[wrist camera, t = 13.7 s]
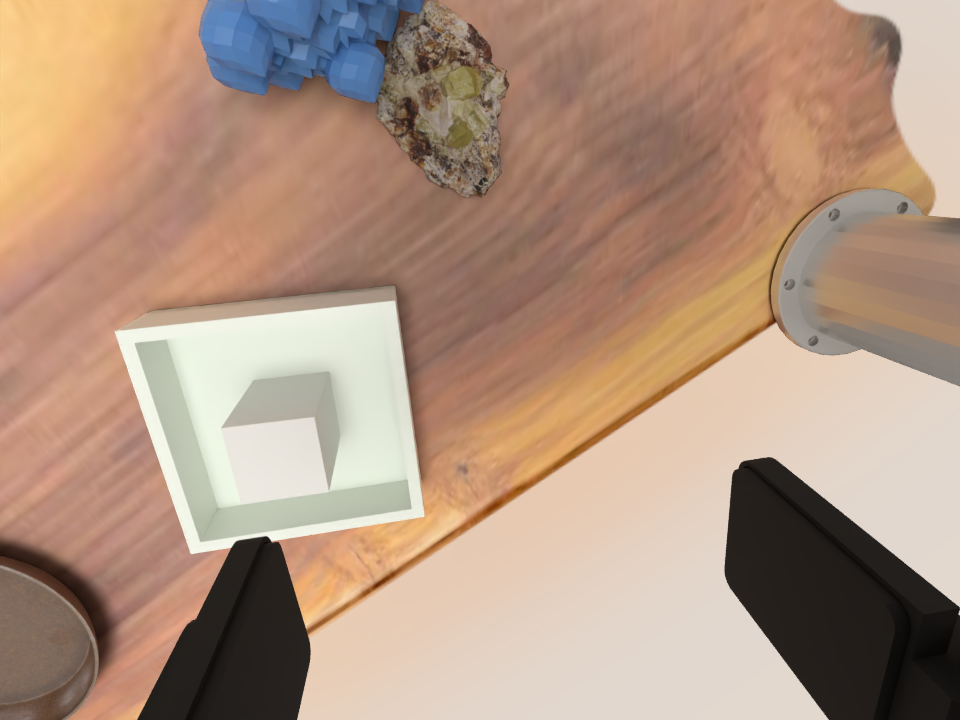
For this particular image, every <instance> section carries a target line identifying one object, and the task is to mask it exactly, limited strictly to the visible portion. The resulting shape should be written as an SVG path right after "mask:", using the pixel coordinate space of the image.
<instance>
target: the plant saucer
mask: <svg viewBox="0 0 960 720" xmlns="http://www.w3.org/2000/svg"><path fill="white" fill-rule="evenodd" d="M98 669H99V651H98V642H97V639H96V634H95V631H94V628H93V625H92V622H91V620H90V618H89V616H88V614H87V612H86V610H85V608H84V606H83V605H82V603H81V602H80V601H79V599H78V598H77V597H76V596H75V595H74V593H73V592H72V591H71V590H70V589H68V588H67V587H66V586H65V585H64V584H63V583H61V582H60V581H59V580H57V579H56V578H55V577H53V576H51V575H50V574H48V573H46V572H44V571H43V570H41V569H39V568H37V567H35V566H32V565H30V564H27V563H25V562H22V561H19V560H16V559H12V558H8V557H4V556H0V720H67V719H69V718H70V717H71V716H72V715H73V714H74V713H75V712H76V711H77V710H78V709H79V708H80V707H81V706H82V705H83V704H84V702H85V701H86V700H87V698H88V697H89V695H90V693H91V691H92V690H93V687H94V685H95V682H96V679H97V676H98Z"/></svg>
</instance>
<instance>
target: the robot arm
mask: <svg viewBox="0 0 960 720" xmlns="http://www.w3.org/2000/svg"><path fill="white" fill-rule="evenodd" d="M771 304H772V309H773V314H774V317H775V319H776V322H777V324H778V326H779V328H780V329H781V331H782V332H783V333H784V334H785V336H786V337H787V338H788V339H789V340H791V341H792V342H793V343H794V344H796V345H798V346H800V347H802V348H804V349H807V350H808V351H811V352H814V353H818V354H822V355H840V354H848V353H851V352H854V351H857V350H860V349H863V350H866V351H868V352H871V353H874V354H876V355H879V356H881V357H884V358H887V359H889V360H892V361H895V362H898V363H900V364H902V365H905V366H908V367H911V368H913V369H916V370H918V371H921V372H924V373H926V374H929V375H932V376H934V377H937V378H939V379H942V380H945V381H948V382H950V383H953V384H956V385H958V386H960V218H948V217H947V218H946V217H936V216H924V215H923V213H922V211H921V210H920V208H919V207H918V206H917V205H916V204H915V203H914V202H913V201H912V200H911V199H909V198H908V197H906V196H904V195H902V194H901V193H898V192H895V191H891V190H887V189H872V188H868V189H858V190H852V191H849V192H846V193H843V194H839V195H838V196H836V197H834V198H832V199H830V200H828V201H826V202H824V203H823V204H822V205H820V206H819V207H818V208H816V209H815V210H814V211H812V212H811V213H810V214H809V215H808V216H807V217H806V218H805V219H804V220H803V221H802V222H801V223H800V224H799V225H798V226H797V228H796V229H795V230H794V232H793V233H792V234H791V236H790V237H789V239H788V240H787V242H786V244H785V246H784V248H783V249H782V251H781V253H780V255H779V258H778V261H777V264H776V267H775V269H774V273H773V279H772V285H771ZM725 577H726V580H727V583H728V585H729V587H730V588H731V590H732V591H733V592H734V594H735V595H736V597H737V598H738V599H739V601H740V602H741V603H742V605H743V606H744V607H745V608H746V610H747V611H748V612H749V614H750V615H751V617H752V618H753V619H754V621H755V622H756V623H757V624H758V626H759V627H760V629H761V630H762V631H763V633H764V634H765V635H766V637H767V638H768V639H769V640H770V642H771V643H772V645H773V646H774V647H775V649H776V650H777V651H778V653H779V654H780V655H781V656H782V658H783V659H784V661H785V662H786V663H787V664H788V666H789V667H790V669H791V670H792V671H793V672H794V674H795V675H796V676H797V678H798V679H799V681H800V682H801V683H802V684H803V686H804V687H805V689H806V690H807V691H808V692H809V694H810V695H811V697H812V698H813V699H814V701H815V702H816V703H817V705H818V706H819V707H820V708H821V710H822V711H823V712H824V714H825V715H826V717H827V718H828V719H829V720H960V615H958V613H959V610H960V607H959V606H957V605H956V604H955V603H953V602H952V601H951V600H950V599H948V598H947V597H946V596H945V595H944V594H942V593H941V592H940V591H939V590H937V589H936V588H935V587H934V586H932V585H931V584H930V583H929V582H927V581H926V580H925V579H924V578H923V577H921V576H920V575H919V574H918V573H916V572H915V571H914V570H912V569H911V568H910V567H909V566H907V565H906V564H905V563H904V562H903V561H901V560H900V559H899V558H898V557H896V556H895V555H894V554H893V553H891V552H890V551H889V550H888V549H886V548H885V547H884V546H883V545H881V544H880V543H879V542H878V541H877V540H875V539H874V538H873V537H871V536H870V535H869V534H868V533H867V532H865V531H864V530H863V529H862V528H860V527H859V526H858V525H857V524H855V523H854V522H853V521H851V520H850V519H849V518H848V517H847V516H845V515H844V514H843V513H842V512H840V511H839V510H838V509H837V508H835V507H834V506H833V505H832V504H830V503H829V502H828V501H827V500H825V499H824V498H823V497H822V496H820V495H819V494H818V493H817V492H816V491H814V490H813V489H812V488H810V487H809V486H808V485H807V484H805V483H804V482H803V481H802V480H801V479H799V478H798V477H797V476H796V475H794V474H793V473H792V472H791V471H789V470H788V469H787V468H786V467H784V466H783V465H782V464H780V463H779V462H778V461H777V460H775V459H773V458H770V457H767V458H760V459H754V460H747V461H743V462H742V463H741V464H740V465H739V469H737V470H735V471H734V472H733V475H732V485H731V498H730V509H729V521H728V533H727V545H726V557H725ZM310 651H311V650H310V642H309V638H308V634H307V631H306V628H305V624H304V621H303V618H302V614H301V611H300V608H299V604H298V601H297V598H296V594H295V591H294V588H293V584H292V581H291V578H290V574H289V571H288V568H287V564H286V561H285V558H284V554H283V551H282V548H281V545H280V544H279V542H273V543H272V542H271V540H270V538H269V537H267V536H263V537H256V538H250V539H243V540H238V541H236V542H235V543H234V544H233V546H232V548H231V550H230V552H229V554H228V556H227V558H226V560H225V562H224V564H223V566H222V568H221V570H220V572H219V574H218V576H217V578H216V580H215V582H214V584H213V586H212V588H211V590H210V592H209V594H208V596H207V598H206V600H205V602H204V604H203V606H202V608H201V610H200V612H199V614H198V616H197V618H196V620H192V621H191V622H190V623H189V624H187V626H186V627H185V629H184V630H183V632H182V634H181V635H180V637H179V639H178V641H177V643H176V645H175V647H174V649H173V651H172V653H171V655H170V657H169V659H168V661H167V663H166V665H165V667H164V669H163V671H162V673H161V675H160V676H159V678H158V680H157V682H156V684H155V686H154V688H153V690H152V692H151V694H150V696H149V698H148V700H147V702H146V704H145V706H144V708H143V710H142V712H141V714H140V715H139V717H138V719H137V720H297V718H298V713H299V709H300V704H301V700H302V695H303V691H304V686H305V681H306V677H307V672H308V668H309V663H310V655H311V654H310Z"/></svg>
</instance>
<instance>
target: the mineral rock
mask: <svg viewBox="0 0 960 720" xmlns="http://www.w3.org/2000/svg"><path fill="white" fill-rule="evenodd" d="M386 50H387V51H386V54H385V74H384V79H383V82H382V85H381V89H380V92H379V94H378V97H377V102H378V104H379V105H378V113H377V115H376V117H377V119H378V120H379V122H382V123H383V124H384V125H385V127H386V128H387V129H388V131H389V133H390V134H391V135H393V136H395V138H396V141H397V143H398V144H399V145H400V148H401V149H403V150H404V151H405V152H407V153H409V156H410V158H411V161H413V162H415V163H416V164H417V165H419V166H420V167H423V169H424V171H425V172H426V175H427V178H428V180H430V181H431V182H433V183H435V184H438V185H439V186H442V187H443V188H445V187H451V188H453V189H454V190H455V192H457V193H459V194H460V195H461V196H465V197H467V198H469V197H470V196H471V195H473V196H475V195H476V196H479V197H482V194H483V195H486V193H487V191H488V189H489V187H490V186H491V185H492V184H493V183H494V182H495V180H496V178H497V177H498V176H499V175H500V174H501V173H502V171H501V170H500V168H501V159H500V156H499V147H500V142H499V141H500V140H501V137H500V134H499V132H498V131H497V128H498V126H497V117H498V116H499V114H500V112H501V106H502V105H501V104H500V99H501V98H504V97H505V91H506V90H507V89H508V86H509V83H508V81H507V78H506V77H505V75H506V72H507V71H506V70H504V69H503V68H500V67H496V66H494V65H493V64H492V62H491V57H492V54H491V49H490V45H489V43H488V42H487V41H486V40H485V39H484V38H483V37H482V35H481V34H480V33H479V32H478V31H477V30H476V29H475V28H474V27H473V26H472V25H471V24H469V23H467V22H465V21H463V20H462V19H461V18H460V16H459V15H458V14H456V13H455V12H453V11H452V10H450V9H448V8H447V7H446V6H444V5H442V4H441V3H439V2H438V1H435V0H430V1H429V2H427V3H425V5H424V6H423V7H422V8H421V11H420V13H419V14H414V15H412V16H411V15H408V16H407V18H406V19H405V21H404V24H403V26H402V27H397V29H396V31H395V32H394V34H393V38H392V39H391V42H389V43H388V45H387V48H386Z"/></svg>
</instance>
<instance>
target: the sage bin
mask: <svg viewBox="0 0 960 720" xmlns="http://www.w3.org/2000/svg"><path fill="white" fill-rule="evenodd" d="M115 334H116V337H117V340H118V343H119V346H120V349H121V351H122V354H123V357H124V360H125V363H126V366H127V369H128V372H129V375H130V378H131V381H132V384H133V386H134V389H135V392H136V395H137V398H138V401H139V404H140V407H141V410H142V413H143V416H144V418H145V421H146V424H147V427H148V430H149V433H150V436H151V439H152V442H153V445H154V448H155V451H156V453H157V456H158V459H159V462H160V465H161V468H162V471H163V474H164V477H165V480H166V483H167V486H168V488H169V491H170V494H171V497H172V500H173V503H174V506H175V509H176V512H177V515H178V518H179V521H180V523H181V526H182V529H183V532H184V535H185V538H186V541H187V544H188V547H189V550H190V553H191V554H194V553H200V552H207V551H213V550H219V549H225V548H232V546H233V544H234V543H235V542H236V541H238V540H243V539H250V538H256V537H263V536H267V537H269V538H270V540H271V541H276V540H282V539H288V538H294V537H301V536H307V535H313V534H319V533H326V532H332V531H338V530H344V529H351V528H357V527H363V526H370V525H376V524H382V523H388V522H395V521H401V520H407V519H413V518H420V517H425V516H424V504H423V493H422V481H421V474H420V466H419V459H418V451H417V444H416V437H415V429H414V422H413V414H412V407H411V399H410V392H409V385H408V377H407V370H406V362H405V355H404V347H403V340H402V333H401V325H400V318H399V310H398V303H397V296H396V288H395V285H392V286H382V287H373V288H363V289H354V290H344V291H335V292H325V293H316V294H306V295H297V296H287V297H278V298H268V299H259V300H249V301H240V302H230V303H221V304H211V305H202V306H192V307H183V308H173V309H164V310H154V311H149V312H147V313H146V314H144V315H142V316H140V317H139V318H137V319H135V320H133V321H132V322H130V323H128V324H126V325H125V326H123V327H121V328H119V329H118V330H116V331H115ZM322 372H329V373H330V379H331V385H332V390H333V396H334V401H335V407H336V413H337V418H338V424H339V430H340V435H341V437H340V441H339V446H338V451H337V456H336V461H335V466H334V471H333V475H332V480H331V485H330V490H329V492H327V493H320V494H313V495H305V496H298V497H291V498H284V499H277V500H270V501H262V502H255V503H248V504H241V502H240V498H239V494H238V491H237V487H236V483H235V479H234V476H233V472H232V468H231V465H230V461H229V457H228V454H227V450H226V446H225V442H224V439H223V435H222V431H221V427H222V426H223V424H224V423H225V421H226V420H227V418H228V417H229V415H230V414H231V412H232V411H233V409H234V408H235V407H236V405H237V404H238V402H239V401H240V399H241V398H242V396H243V395H244V393H245V392H246V390H247V389H248V387H249V386H250V384H251V383H252V382H253V380H259V379H268V378H277V377H286V376H295V375H304V374H313V373H322Z"/></svg>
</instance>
